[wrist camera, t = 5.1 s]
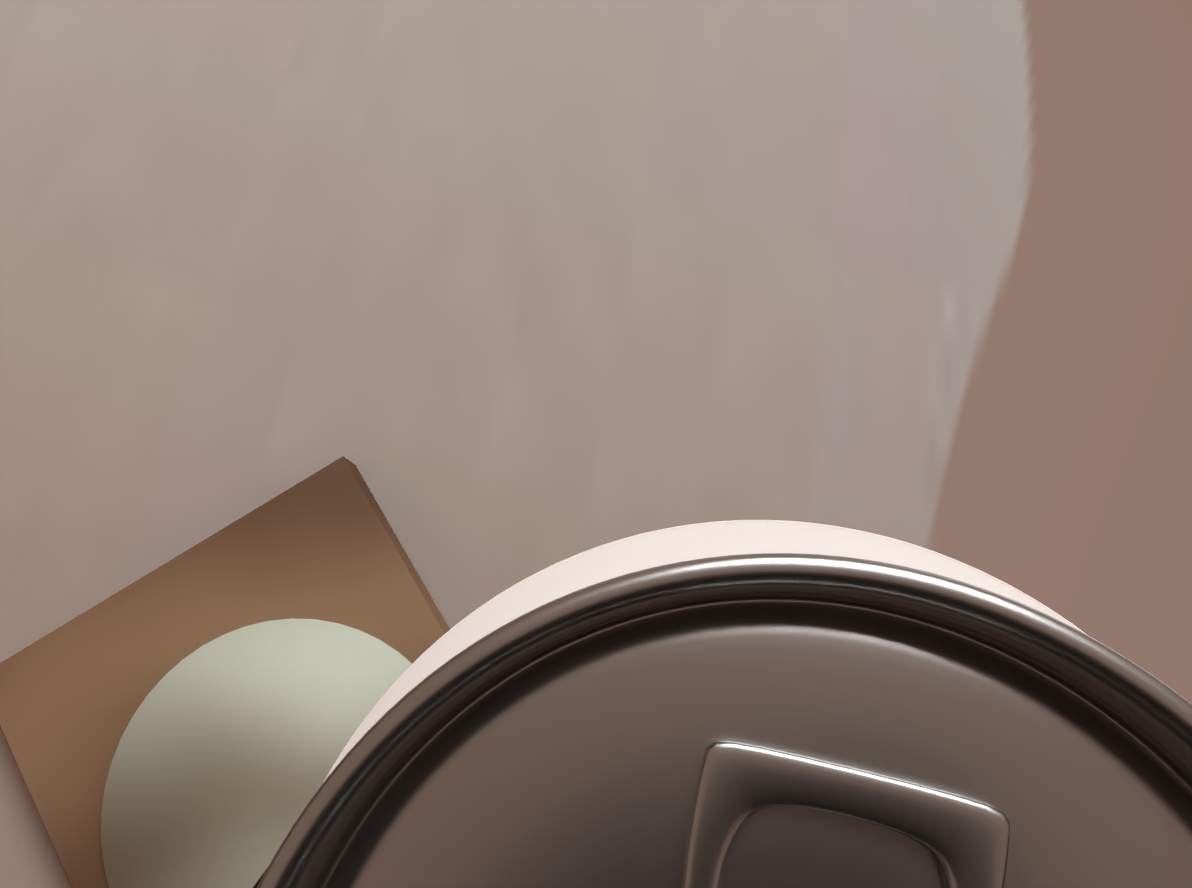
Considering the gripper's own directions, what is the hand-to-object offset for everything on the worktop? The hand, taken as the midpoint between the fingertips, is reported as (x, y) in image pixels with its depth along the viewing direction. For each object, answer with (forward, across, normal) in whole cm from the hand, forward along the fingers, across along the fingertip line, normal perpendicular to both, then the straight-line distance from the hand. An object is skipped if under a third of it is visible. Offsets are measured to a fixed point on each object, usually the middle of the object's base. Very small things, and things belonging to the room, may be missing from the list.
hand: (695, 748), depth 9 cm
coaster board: (+8, +9, +10) cm, 16 cm away
